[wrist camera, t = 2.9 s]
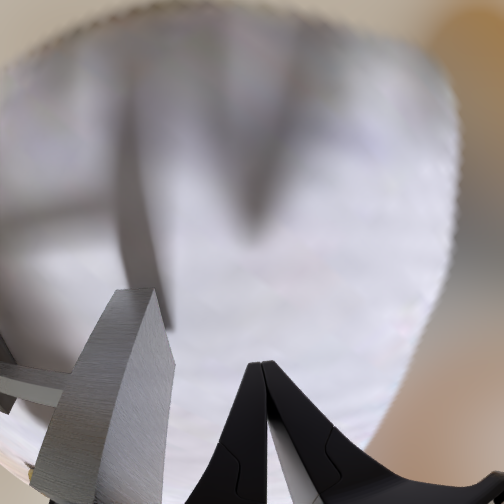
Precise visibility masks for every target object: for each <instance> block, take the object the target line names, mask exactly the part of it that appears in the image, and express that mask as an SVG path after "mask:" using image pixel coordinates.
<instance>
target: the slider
mask: <svg viewBox="0 0 504 504" xmlns="http://www.w3.org/2000/svg"><path fill="white" fill-rule="evenodd" d="M175 365H176V364H175V361H174V358H173V355H172V351H171V348H170V345H169V341H168V338H167V334H166V331H165V327H164V323H163V320H162V316H161V312H160V308H159V304H158V300H157V296H156V292H155V288H142V289H124V290H116V291H115V292H114V294H113V296H112V298H111V299H110V301H109V303H108V304H107V306H106V308H105V310H104V311H103V313H102V315H101V317H100V319H99V320H98V322H97V324H96V326H95V328H94V330H93V331H92V333H91V335H90V337H89V339H88V341H87V343H86V345H85V347H84V349H83V351H82V353H81V355H80V357H79V359H78V361H77V363H76V365H75V367H74V369H73V371H72V373H71V374H70V373H62V372H55V371H48V370H42V369H36V368H31V367H25V366H20V365H15V364H11V363H6V362H2V361H0V392H1V393H4V394H7V395H11V396H14V397H17V398H20V399H24V400H27V401H31V402H35V403H39V404H43V405H47V406H51V407H55V408H56V409H55V412H54V414H53V416H52V419H51V421H50V424H49V427H48V429H47V432H46V435H45V437H44V440H43V443H42V446H41V449H40V451H39V454H38V457H37V461H36V464H35V467H34V470H33V474H32V477H31V480H30V484H29V485H30V486H31V487H33V488H34V489H36V490H37V491H39V492H40V493H42V494H43V495H45V496H46V497H48V498H50V499H51V500H53V501H55V502H56V503H58V504H162V487H163V472H164V459H165V448H166V437H167V428H168V419H169V410H170V402H171V394H172V386H173V379H174V372H175Z"/></svg>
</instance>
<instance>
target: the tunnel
mask: <svg viewBox="0 0 504 504" xmlns="http://www.w3.org/2000/svg"><path fill="white" fill-rule="evenodd" d="M0 361H2V362H6V363H11V364H15V365H17V363H16V362H15V360H14V358H13V357H12V355H11V353H10V352H9V350H8V348H7V346H6V344H5V343H4V341H3V339H2V337H1V335H0ZM16 399H17V397H14V396H11V395H7V394H4V393H1V392H0V412H3V413H5V414H8V415H9V413H10V411H11V409H12V407H13V405H14V403H15V401H16Z"/></svg>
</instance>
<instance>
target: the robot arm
mask: <svg viewBox="0 0 504 504" xmlns="http://www.w3.org/2000/svg"><path fill="white" fill-rule="evenodd" d="M267 420H268V424H269V428H270V431H271V435H272V438H273V441H274V445H275V448H276V451H277V454H278V458H279V461H280V464H281V467H282V470H283V473H284V477H285V480H286V483H287V486H288V489H289V492H290V495H291V498H292V501H293V504H504V472H500V471H493V472H491V473H490V474H489V475H487V476H486V477H485V478H483V479H482V480H481V481H479V482H478V483H477V484H475V485H472V486H467V487H454V486H445V485H437V484H430V483H424V482H418V481H413V480H409V479H406V478H403V477H401V476H399V475H397V474H395V473H393V472H391V471H390V470H389V469H387V468H386V467H384V466H383V465H381V464H380V463H378V462H377V461H376V460H374V459H373V458H371V457H370V456H369V455H367V454H366V453H365V452H363V451H362V450H361V449H359V448H358V447H357V446H356V445H354V444H353V443H352V442H351V441H350V440H349V439H348V438H347V437H346V436H344V435H343V434H342V433H341V432H340V431H339V430H338V429H337V428H336V427H335V426H334V425H333V424H332V423H331V422H330V421H329V420H328V419H327V417H326V416H325V415H324V414H323V413H322V412H321V411H320V410H319V409H318V408H317V407H316V406H315V405H314V404H313V403H312V402H311V401H310V400H309V399H308V397H307V396H306V395H305V394H304V393H303V392H302V391H301V390H300V389H299V388H298V387H297V386H296V385H295V383H294V382H293V381H292V380H291V379H290V378H289V377H288V376H287V375H286V373H285V372H284V371H283V370H282V369H281V368H280V367H279V366H278V365H277V363H276V362H275V361H273V360H270V361H263V362H262V363H260V362H252V363H248V365H247V368H246V370H245V373H244V376H243V379H242V381H241V384H240V387H239V389H238V392H237V395H236V397H235V400H234V403H233V405H232V408H231V411H230V413H229V416H228V418H227V421H226V424H225V426H224V429H223V431H222V434H221V436H220V439H219V443H218V444H217V446H216V449H215V451H214V454H213V456H212V458H211V460H210V462H209V465H208V466H207V468H206V470H205V472H204V474H203V475H202V477H201V479H200V480H199V482H198V484H197V485H196V487H195V488H194V490H193V491H192V493H191V495H190V496H189V498H188V499H187V501H186V502H185V504H267ZM333 426H334V427H333ZM49 504H58V503H56V502H55V501H53V500H51V499H50V502H49Z"/></svg>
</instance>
